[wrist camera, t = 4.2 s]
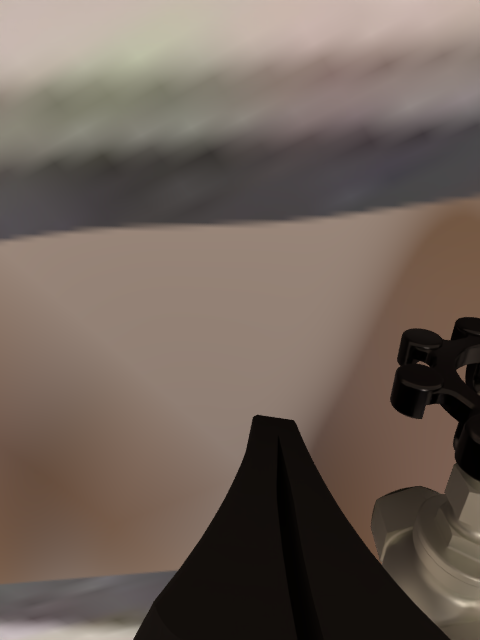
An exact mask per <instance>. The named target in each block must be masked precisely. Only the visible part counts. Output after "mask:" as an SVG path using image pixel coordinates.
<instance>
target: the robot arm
mask: <svg viewBox="0 0 480 640" xmlns="http://www.w3.org/2000/svg"><path fill="white" fill-rule="evenodd" d="M133 640H451V639H450V638H449V637H448V636H447V635H446V634H445V633H444V632H443V631H442V630H441V629H440V628H439V627H438V626H437V625H436V624H435V623H434V622H433V621H432V620H431V619H430V618H429V617H428V616H427V615H426V614H425V613H424V612H423V611H422V610H421V609H420V608H419V607H418V606H417V605H416V604H415V603H414V602H413V601H412V600H411V599H410V597H409V596H408V595H407V594H406V593H405V592H404V591H403V590H402V589H401V588H400V586H399V585H398V584H397V583H396V582H395V581H394V579H393V578H392V577H391V576H390V575H389V573H388V572H387V571H386V570H385V569H384V567H383V566H382V565H381V564H380V563H379V561H378V560H377V559H376V558H375V556H374V555H373V554H372V553H371V552H370V550H369V549H368V548H367V546H366V545H365V544H364V542H363V541H362V539H361V538H360V537H359V535H358V534H357V533H356V531H355V530H354V529H353V527H352V526H351V524H350V523H349V521H348V520H347V518H346V517H345V515H344V514H343V512H342V511H341V509H340V508H339V506H338V505H337V503H336V501H335V500H334V498H333V496H332V495H331V493H330V491H329V490H328V488H327V486H326V484H325V483H324V481H323V479H322V477H321V475H320V473H319V472H318V470H317V468H316V466H315V465H314V462H313V460H312V458H311V456H310V454H309V452H308V450H307V448H306V446H305V444H304V442H303V439H302V437H301V435H300V432H299V430H298V427H297V425H296V423H295V421H294V420H288V419H281V418H275V417H268V416H261V415H256V416H254V417H253V420H252V425H251V430H250V434H249V439H248V444H247V449H246V453H245V455H244V458H243V461H242V463H241V466H240V468H239V470H238V472H237V474H236V477H235V479H234V481H233V483H232V485H231V487H230V489H229V491H228V493H227V495H226V497H225V499H224V501H223V503H222V504H221V506H220V508H219V510H218V512H217V513H216V515H215V517H214V518H213V520H212V522H211V523H210V525H209V527H208V528H207V530H206V531H205V533H204V534H203V536H202V538H201V539H200V541H199V542H198V544H197V545H196V546H195V548H194V549H193V551H192V552H191V553H190V555H189V556H188V558H187V559H186V561H185V562H184V564H183V565H182V566H181V568H180V569H179V570H178V572H177V573H176V574H175V575H174V577H173V578H172V579H171V580H170V582H169V583H168V584H167V586H166V587H165V588H164V589H163V591H162V592H161V593H160V594H159V596H158V597H157V598H156V599H155V601H154V602H153V604H152V606H151V608H150V610H149V612H148V614H147V615H146V617H145V619H144V621H143V622H142V624H141V626H140V628H139V630H138V632H137V633H136V635H135V637H134V639H133Z"/></svg>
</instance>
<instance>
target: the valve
mask: <svg viewBox="0 0 480 640" xmlns="http://www.w3.org/2000/svg"><path fill="white" fill-rule="evenodd" d="M397 361H398V363H399V365H400V367H399V368H398V369H397V370H396V374H395V379H394V383H393V388H392V393H391V397H390V400H391V404H392V406H393V407H394V408H395V409H396V410H397V411H398V412H400V413H401V414H403V415H406V416H408V417H411V418H416V419H422V417H423V414H424V410H425V406H426V405H430V404H440V405H441V406H442V407H443V408H444V409H445V410H446V411H447V412H448V413H449V414H450V415H451V416H452V417H453V418H455V419H456V420H457V421H458V422H459V423H458V426H457V429H456V432H455V435H454V441H453V447H454V450H455V460H456V462H457V463H456V464H454V466H453V469H452V472H451V475H450V478H449V480H448V483H447V486H446V489H445V494H440V493H438V492H437V491H434V490H432V489H429V488H426V487H422V486H414V487H407V488H402V489H399V490H395V491H393V492H390V493H388V494H386V495H384V496H382V497H380V498H379V499H377V500H376V502H375V505H374V508H373V513H372V519H371V530H372V533H373V537H374V541H375V544H376V548H377V552H378V555H379V559H380V561H382V562H383V563H382V566H383V567H384V569H385V570H386V571H387V572H388V573H389V575H390V576H391V577H392V578H393V579H394V581H395V582H396V583H397V584H398V585H399V586H400V588H401V589H402V590H403V591H404V592H405V593H406V594H407V595H408V596H409V597H410V599H411V600H412V601H413V602H414V603H415V604H416V605H417V606H418V607H419V608H420V609H421V610H422V611H423V612H424V613H425V614H426V615H427V616H428V617H429V618H430V619H431V620H432V621H433V622H434V623H435V624H436V625H437V626H438V627H439V628H440V629H441V630H442V631H443V632H444V633H445V634H446V635H447V636H448V637H449V638H450V639H451V640H480V318H474V317H463V318H459V319H458V320H457V321H456V322H455V326H454V329H453V333H452V336H451V340H444V339H442V338H441V337H440V336H439V335H438V334H436V333H434V332H432V331H429V330H425V329H409V330H406V331H405V332H404V333H403V334H402V338H401V343H400V348H399V353H398V357H397ZM419 361H422V362H424V363H426V364H428V365H429V366H430V367H428V366H425V365H421V364H416V363H417V362H419ZM464 365H467V368H466V376H465V379H466V383H464V381H462V380H461V378H460V377H459V375H458V373H457V372H456V370H457V369H458V368H460V367H462V366H464Z"/></svg>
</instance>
